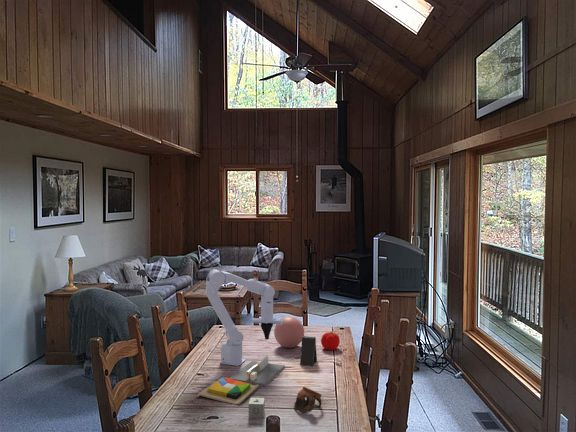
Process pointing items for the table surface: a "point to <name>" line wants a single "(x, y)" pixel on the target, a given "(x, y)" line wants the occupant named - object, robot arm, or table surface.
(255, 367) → the hinge leaf
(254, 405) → the dice cube
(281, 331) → the balloon
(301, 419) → the table surface
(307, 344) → the phone stand
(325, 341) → the tomato
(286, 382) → the table surface
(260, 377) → the hinge base
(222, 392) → the wooden puzzle
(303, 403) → the pottery mug
